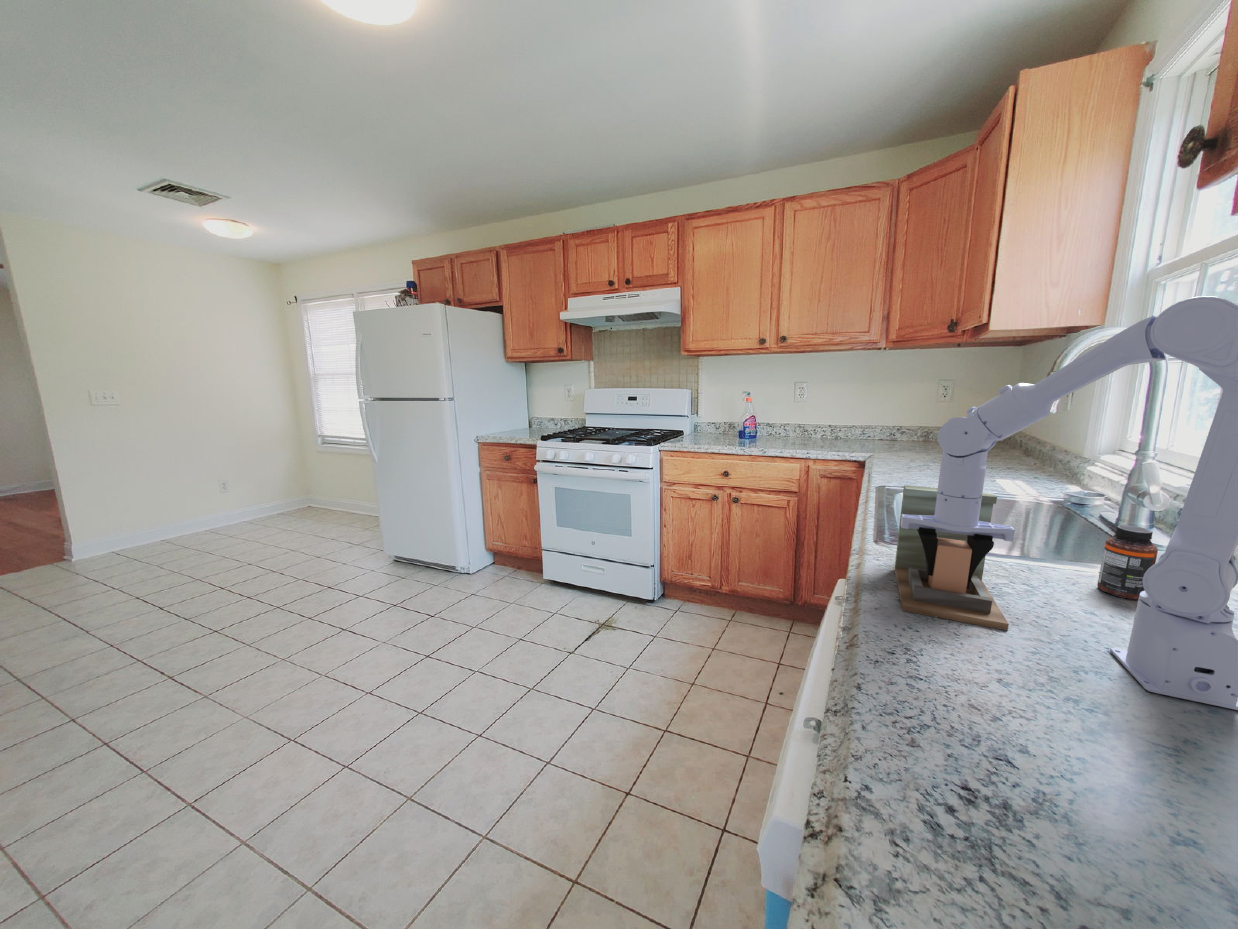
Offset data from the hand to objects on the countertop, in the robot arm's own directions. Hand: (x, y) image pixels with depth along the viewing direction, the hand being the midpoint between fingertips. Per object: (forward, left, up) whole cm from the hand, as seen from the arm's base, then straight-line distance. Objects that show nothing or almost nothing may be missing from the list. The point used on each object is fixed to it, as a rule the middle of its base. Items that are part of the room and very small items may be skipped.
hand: (947, 576), depth 77 cm
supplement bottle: (+16, -27, -4) cm, 32 cm away
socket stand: (+2, 0, -4) cm, 4 cm away
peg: (0, 0, -2) cm, 2 cm away
